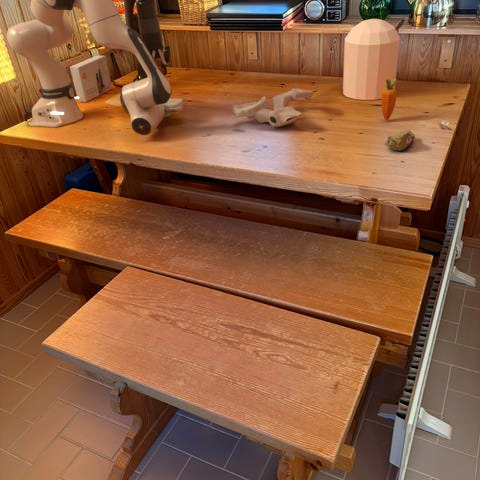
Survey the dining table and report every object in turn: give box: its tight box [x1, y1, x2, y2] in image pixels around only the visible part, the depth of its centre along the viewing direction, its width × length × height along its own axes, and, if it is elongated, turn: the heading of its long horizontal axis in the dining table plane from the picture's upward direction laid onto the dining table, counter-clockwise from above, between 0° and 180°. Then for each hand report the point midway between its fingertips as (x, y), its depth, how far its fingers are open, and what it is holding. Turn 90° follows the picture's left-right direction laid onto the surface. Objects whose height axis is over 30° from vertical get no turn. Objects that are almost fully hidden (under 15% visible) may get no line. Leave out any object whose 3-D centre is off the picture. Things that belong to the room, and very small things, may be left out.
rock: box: [387, 129, 416, 152], centre depth 146 cm, size 11×6×10 cm
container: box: [342, 18, 401, 101], centre depth 185 cm, size 21×21×28 cm
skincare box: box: [69, 54, 113, 103], centre depth 218 cm, size 21×6×16 cm, turn 158°
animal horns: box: [231, 88, 314, 128], centre depth 171 cm, size 28×26×12 cm
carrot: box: [380, 78, 398, 122], centre depth 161 cm, size 5×5×15 cm
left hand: (163, 99), depth 188 cm, fingers closed on jar, 5 cm apart
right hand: (158, 76), depth 181 cm, fingers closed on lid, 5 cm apart
